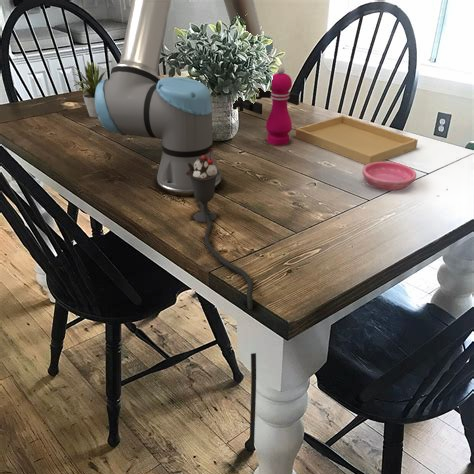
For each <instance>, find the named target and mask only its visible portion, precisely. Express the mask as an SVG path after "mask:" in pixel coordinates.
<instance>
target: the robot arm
mask: <svg viewBox="0 0 474 474" xmlns="http://www.w3.org/2000/svg"><path fill="white" fill-rule="evenodd" d="M172 1H173V0H132V1H131V6H130V10H129V15H128V20H127V25H126V30H125V35H124V41H123V45H122V50H121V55H120V60H119V62H118V63H116V64H115V65H113V66H111V70H110V74H109V78H105V79H102V80H101V81H100V83H98V85H97V87H96V91H95V108H96V113H97V115H98V117H97V119H98V121H99V122H100V125H101V126H102V127H103V128H104V129H105V130H106V131H108V132H110V133H113V134H117V135H118V134H119V135H121V136H133V137H134V136H135V137H142V138H150V139H159V140H160V141H161V150H162V153H161V158H160V162H159V166H158V170H157V174H156V175H157V176H156V185H157V187H158V189H159V190H160V191H162V192H164V193H166V194H169V195H172V196H176V197H177V196H178V197H195V195H194V192H193V186H192V181H191V178H190V176H188V175H186V173H187V172H188V170H189V169H190V168H189V166H188V164H187V163H191V164H192V166H193V167H194V163H195V162H196V161H197V160H198V159H200V158H202V156H203V155H206V154H207V153H208V152H209V153H208V154H207V155H206V156H207V159H210V158H211V159H212V160H213V164H214V165H215V167H216V168H217V169H218V170H219V172H220V175H218V176H217V177H216V182H215V191H216V190H217V189H219V188H220V186H221V185H222V174H221V170H220V168H219V165H218V162H217V159H216V156H215V154H214V150H210V148H213V149H214V145H213V142H214V141H213V108H214V107H213V105H212V95H211V94H210V91H209V89H208V87H207V86H205V85H204V84H203V83H201V82H199V81H197V80H193V78H188V77H182V76H177V77H174V76H167V77H163V78H161V77H160V76H159V74H158V71H159V66H160V60H161V55H162V50H163V45H164V40H165V35H166V30H167V26H168V20H169V15H170V10H171V5H172ZM223 3H224V6H225V9H226V13H227V16H228V19H229V23H231V21H232V19H233V18H234V17H236V15H237V16H238V15H239V16H240V18H242V19H244V20H245V21H246V31H248V32H249V33H251V34H252V35H253V36H256V35H257V34H258V35H261V34H262V30H261V25H260V21H259V18H258V13H257V8H256V4H255V0H223ZM244 11H247V13H248V14H247V13H246V14H247V15H246V14H245V12H244ZM237 13H238V14H237ZM245 15H246V16H245ZM205 25H206V26H208V25H209V24H205ZM263 36H264V37H265V38H267V39H271V40H272V43H271V44H270V45H267V46H266V50H267V53H269V52H270V51H271V49H273V50H274V43H273V39H272V38H271V36H266V35H263ZM258 89H259V91H260V93H257V94H256V99H255V100H254V101H255V103H254V104H253V103H251V102H250V101H249V100H245V101H243V100H242V98H241V97H239V98H238V101H237V100H236V101H235V103H234V104H233V109H232V110H233V111H236V110H238V112H240V113H242V112H244V110H247V111H249V112H251V113H255V114H257V115H263V103H261V102H259V101H256V100H261V99H272V98H271V92H270V91H266V92H264V91H263V90H262V89H261V88H258ZM288 92H289V93H290V94H289V99H288V101H287V104H288V103H289V104H292V105H294V106H299V105H300V94H298V93H295V92H291V91H288ZM211 151H212V152H211ZM210 152H211V154H210ZM209 156H210V157H209ZM197 202H198V205H199V207H200V209H201V210H202V203H201V202H200V201H198V200H197ZM201 210H200V211H201ZM205 217H206V220H207V222H206V223H207V227H206V231H205V233H204V244H205V247H206V248H207V250H208V251H209V253H210V254H211V255H212V256H214V258H215V259H216V260H217V261H219V262H220V263H221V264H222V265H223V266H224V267H226V268H227V269H230V270H231V271H233V272H235V273H236V274H239V275H240V276H241V277H242V278H243V279H244V280H245V281H246V283H247V289H246V305H247V306H246V307H247V309H248V310H253V309H254V303H253V302H254V301H253V291H254V281H253V280H252V278H251V277H250V275H249V274H248V273H246V271H244V270H243V269H241V268H240V267H238V266H237V265H235V264H234V263H233V264H232V263H231V262H229V261H228V260H226V259H225V258H224V257H223V256H222V255H221V254H219V253H218V251H216V249H215V248H214V247H213V246H212V244H211V242H210V236H211V233H212V229H213V223H212V222H213V221H211V218H210V216H209V215H208V214H207V215H206V216H205ZM250 382H251V383H250V412H249V413H250V415H249V416H250V417H249V449H251V450H254V449H255V437H256V436H255V435H256V434H255V433H256V431H255V430H256V404H257V403H256V401H257V352H253V353H252V352H251V353H250Z"/></svg>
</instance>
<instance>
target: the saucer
mask: <svg viewBox="0 0 474 474" xmlns="http://www.w3.org/2000/svg"><path fill="white" fill-rule="evenodd" d="M361 171H362V175H363V178H364V179H365V180H366V181H367V183H368V184H369V185H370V186H371V187H373V188H375V189H378V190H382V191H388V192H394V191H395V192H396V191H402V190H404V189H406V188H407V187H408V186H411V185H412V183H414V182H415V181H416V179H417V173H416V171H415V170H414V169H413V168H411V167H410V166H408V165H406V164H402V163H398V162H393V161H381V162H374V163H370V164H367V165H366V164H365V166H363V168H362V170H361Z"/></svg>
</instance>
